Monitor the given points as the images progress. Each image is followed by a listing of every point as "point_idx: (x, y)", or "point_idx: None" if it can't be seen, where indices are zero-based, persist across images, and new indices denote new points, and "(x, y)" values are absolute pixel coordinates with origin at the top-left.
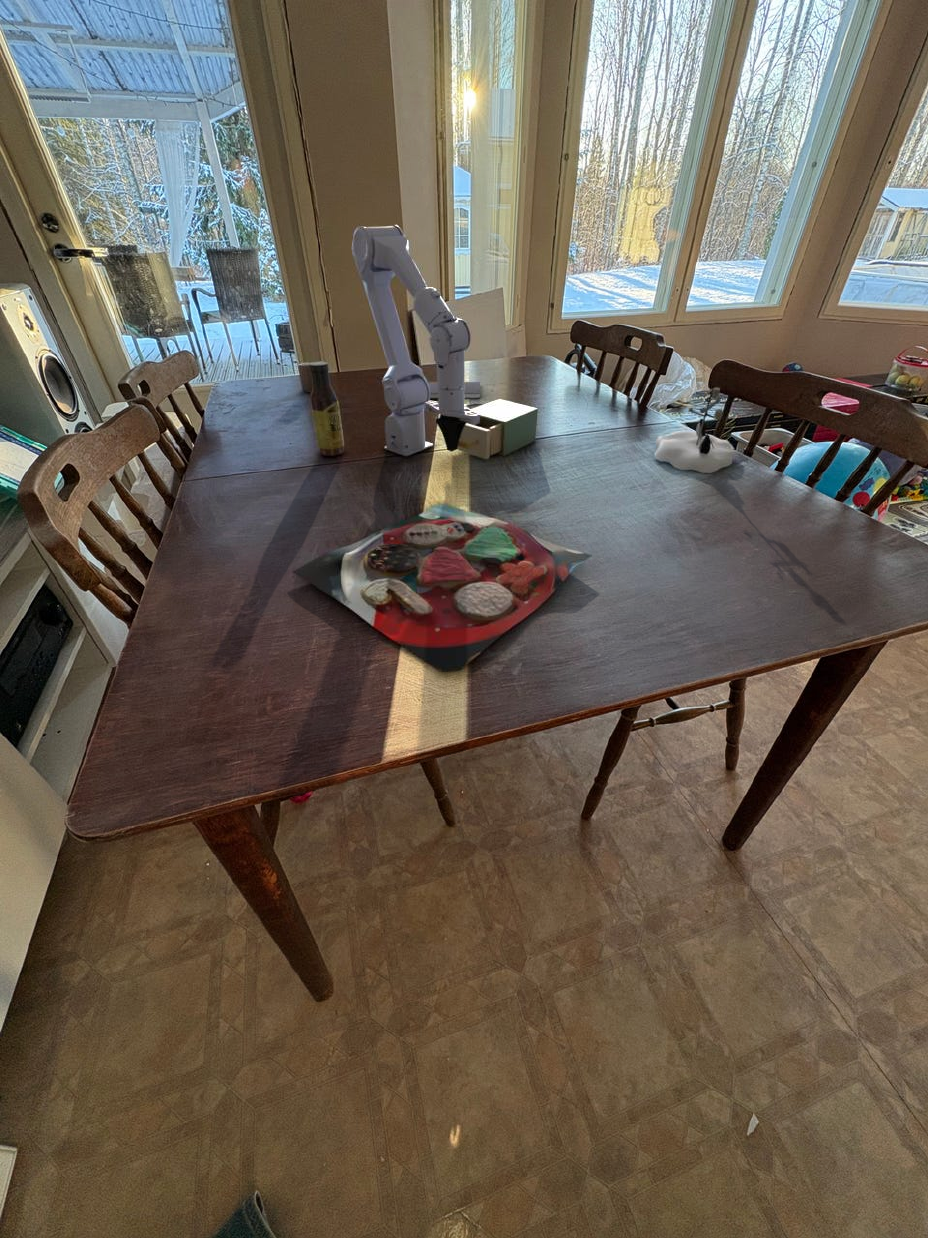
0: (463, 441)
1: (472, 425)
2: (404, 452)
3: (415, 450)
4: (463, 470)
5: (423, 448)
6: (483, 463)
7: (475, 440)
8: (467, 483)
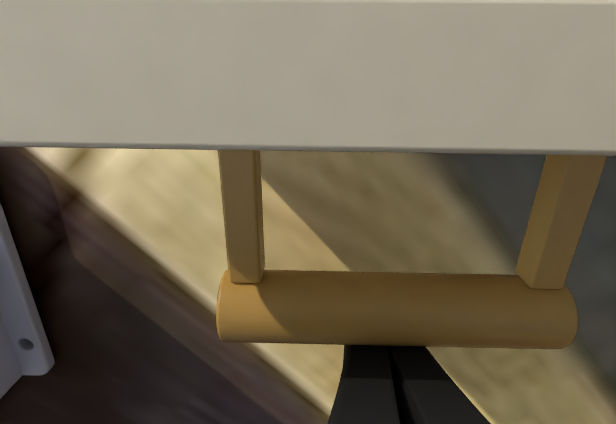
0: (487, 332)
1: (566, 57)
2: (15, 372)
3: (12, 297)
4: None
5: (3, 232)
6: None
7: (575, 157)
8: (594, 401)
